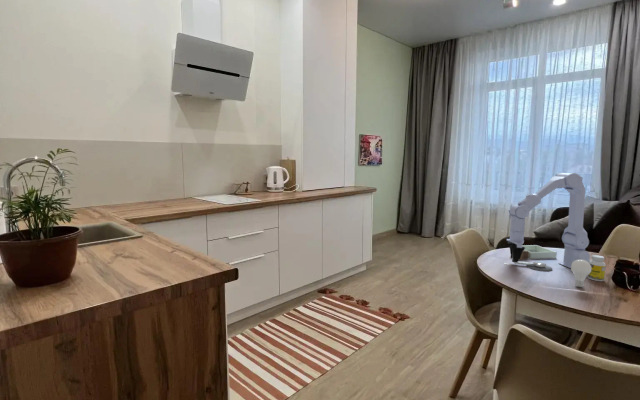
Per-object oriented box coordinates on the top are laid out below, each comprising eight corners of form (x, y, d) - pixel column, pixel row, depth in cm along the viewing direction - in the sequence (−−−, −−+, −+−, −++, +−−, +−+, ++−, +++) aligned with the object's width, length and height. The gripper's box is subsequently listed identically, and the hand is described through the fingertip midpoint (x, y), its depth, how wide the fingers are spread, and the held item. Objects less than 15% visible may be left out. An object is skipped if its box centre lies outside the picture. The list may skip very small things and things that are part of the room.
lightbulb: (567, 287, 132) (570, 259, 131) (570, 283, 137) (572, 256, 136) (588, 291, 128) (591, 263, 127) (590, 287, 133) (593, 259, 132)
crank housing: (548, 265, 160) (548, 264, 160) (555, 272, 151) (555, 271, 151) (501, 261, 166) (501, 260, 166) (505, 267, 157) (505, 266, 157)
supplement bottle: (584, 277, 144) (586, 255, 142) (592, 276, 146) (594, 254, 145) (599, 282, 139) (601, 258, 138) (606, 280, 141) (609, 257, 140)
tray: (556, 259, 172) (556, 252, 171) (530, 259, 170) (530, 252, 170) (535, 251, 185) (536, 245, 185) (511, 252, 184) (512, 245, 183)
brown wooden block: (528, 251, 169) (517, 251, 168) (527, 260, 170) (517, 260, 169) (521, 248, 174) (511, 249, 173) (521, 257, 174) (510, 257, 173)
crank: (543, 265, 158) (545, 251, 158) (547, 268, 154) (548, 254, 153) (510, 262, 163) (511, 248, 162) (512, 265, 158) (513, 251, 157)
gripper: (504, 227, 166) (502, 254, 168) (510, 233, 153) (508, 262, 154) (521, 228, 164) (518, 255, 166) (528, 234, 150) (526, 264, 152)
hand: (514, 259), depth 160 cm, fingers open, 5 cm apart
